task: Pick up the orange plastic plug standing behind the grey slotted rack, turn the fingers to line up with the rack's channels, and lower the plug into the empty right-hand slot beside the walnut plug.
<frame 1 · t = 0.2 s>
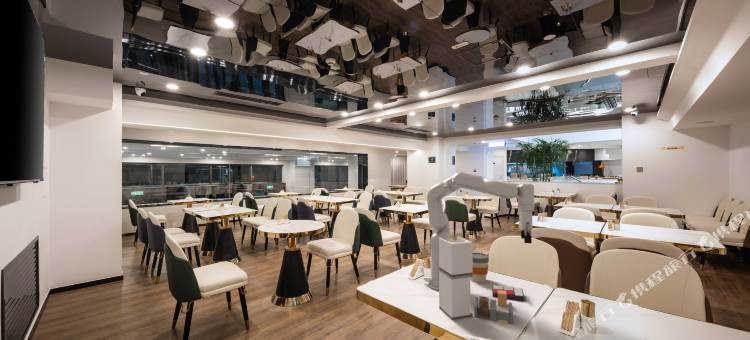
hand: (526, 240, 152), 31 cm above the table, tool pointing down, fingers open, 9 cm apart
reusable coffee cup: (477, 280, 179), on the table
orange plug: (502, 306, 146), on the table
walnut plug: (483, 313, 137), point 1 cm above the table, touching grey slotted rack
grey slotted rack: (493, 317, 135), on the table
banded white column: (455, 314, 138), on the table
calculator: (507, 297, 157), on the table
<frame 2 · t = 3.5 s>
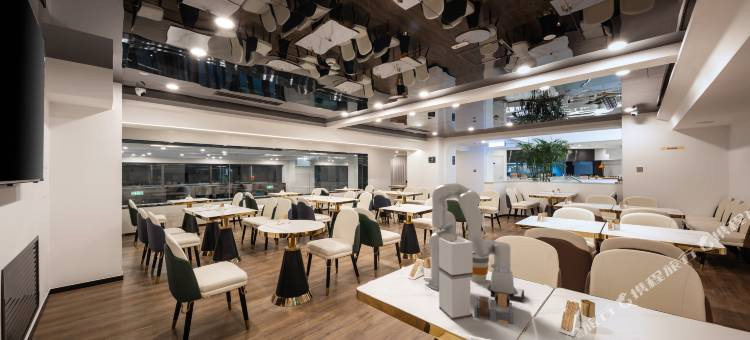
hand: (502, 304, 146), 1 cm above the table, tool pointing down, fingers closed on orange plug, 4 cm apart
orange plug: (502, 306, 146), on the table, touching gripper
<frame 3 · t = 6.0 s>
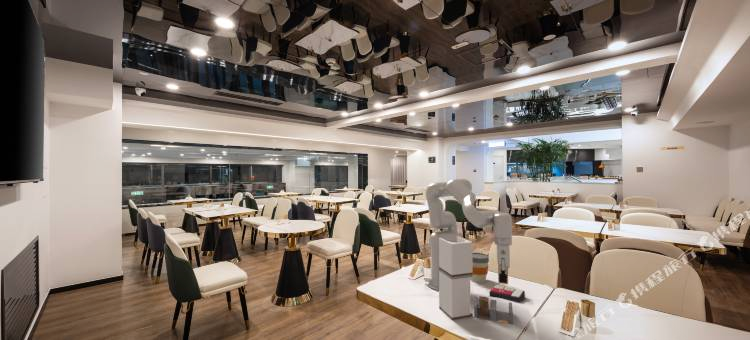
hand: (502, 280, 134), 18 cm above the table, tool pointing down, fingers closed on orange plug, 4 cm apart
orange plug: (503, 282, 134), point 17 cm above the table, touching gripper
when the fingers open (4 cm above the table, at t = 8.9 s): orange plug drops 2 cm, resting on grey slotted rack.
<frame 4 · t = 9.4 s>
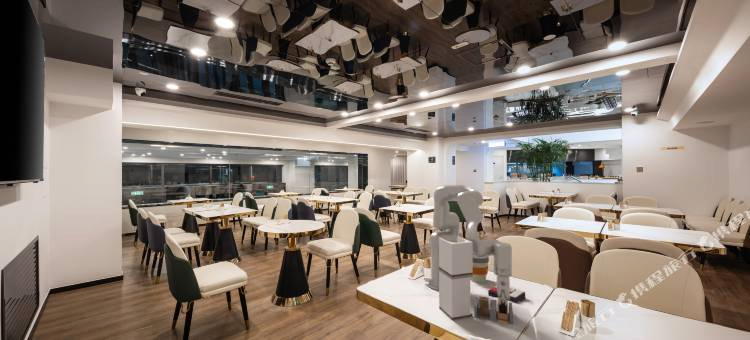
hand: (502, 308, 134), 5 cm above the table, tool pointing down, fingers open, 9 cm apart
orange plug: (502, 316, 134), point 1 cm above the table, touching grey slotted rack
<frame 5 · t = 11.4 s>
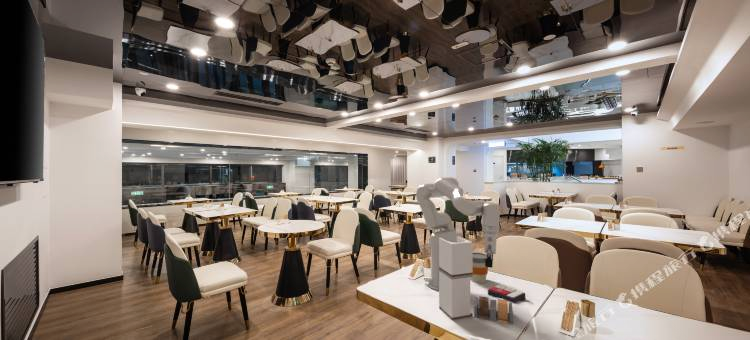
hand: (489, 263, 143), 22 cm above the table, tool pointing down, fingers open, 9 cm apart
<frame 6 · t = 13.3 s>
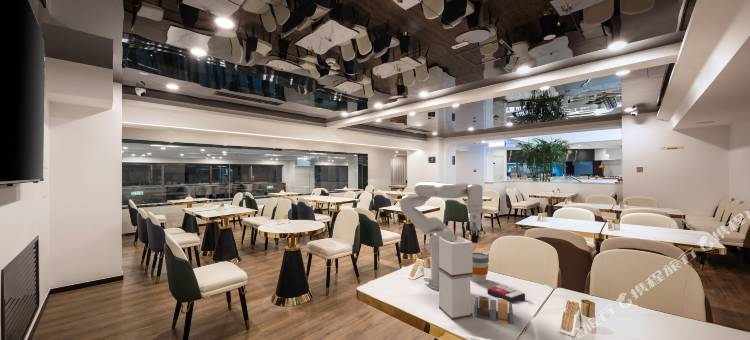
hand: (474, 240, 155), 30 cm above the table, tool pointing down, fingers open, 9 cm apart
at the end: orange plug 0.0 cm from the target spot on the grey slotted rack, point 1.0 cm above the grey slotted rack's base; orange plug tilted 0°; walnut plug 0.0 cm from the target spot on the grey slotted rack, point 1.0 cm above the grey slotted rack's base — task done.
